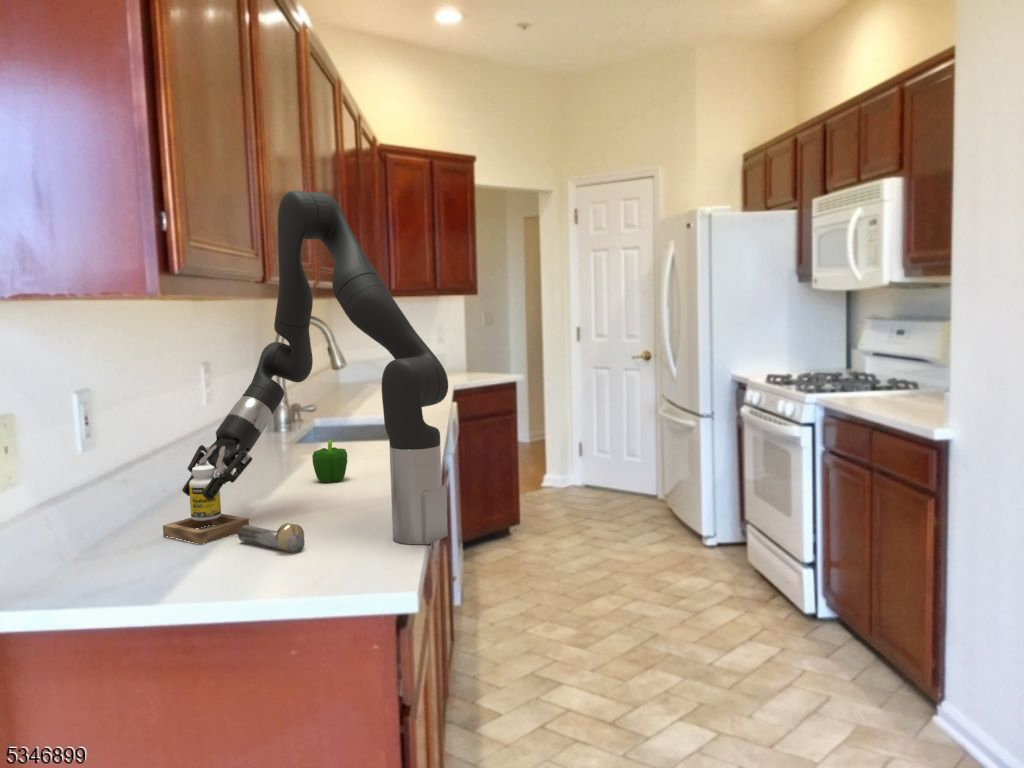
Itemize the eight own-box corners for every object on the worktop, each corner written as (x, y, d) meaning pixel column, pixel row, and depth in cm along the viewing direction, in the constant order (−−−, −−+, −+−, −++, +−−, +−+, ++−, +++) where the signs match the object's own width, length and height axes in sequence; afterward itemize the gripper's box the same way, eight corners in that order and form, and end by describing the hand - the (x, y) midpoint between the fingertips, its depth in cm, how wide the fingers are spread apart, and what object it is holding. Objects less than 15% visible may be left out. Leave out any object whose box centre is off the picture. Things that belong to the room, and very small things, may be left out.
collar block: (249, 529, 152) (248, 518, 152) (200, 544, 143) (199, 533, 142) (212, 522, 158) (212, 511, 158) (163, 536, 148) (162, 525, 148)
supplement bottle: (189, 522, 147) (185, 471, 146) (193, 515, 152) (189, 465, 151) (220, 519, 148) (216, 469, 147) (222, 512, 153) (219, 463, 152)
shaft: (308, 548, 139) (307, 522, 138) (288, 556, 135) (286, 529, 134) (255, 537, 146) (254, 512, 146) (234, 544, 142) (232, 518, 142)
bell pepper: (340, 485, 190) (338, 444, 189) (308, 484, 191) (306, 443, 190) (353, 477, 198) (352, 438, 197) (323, 476, 199) (321, 438, 198)
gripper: (209, 410, 158) (159, 480, 149) (257, 415, 151) (208, 489, 142) (232, 432, 163) (185, 501, 154) (280, 437, 156) (233, 511, 147)
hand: (196, 495), depth 148 cm, fingers closed on supplement bottle, 5 cm apart
